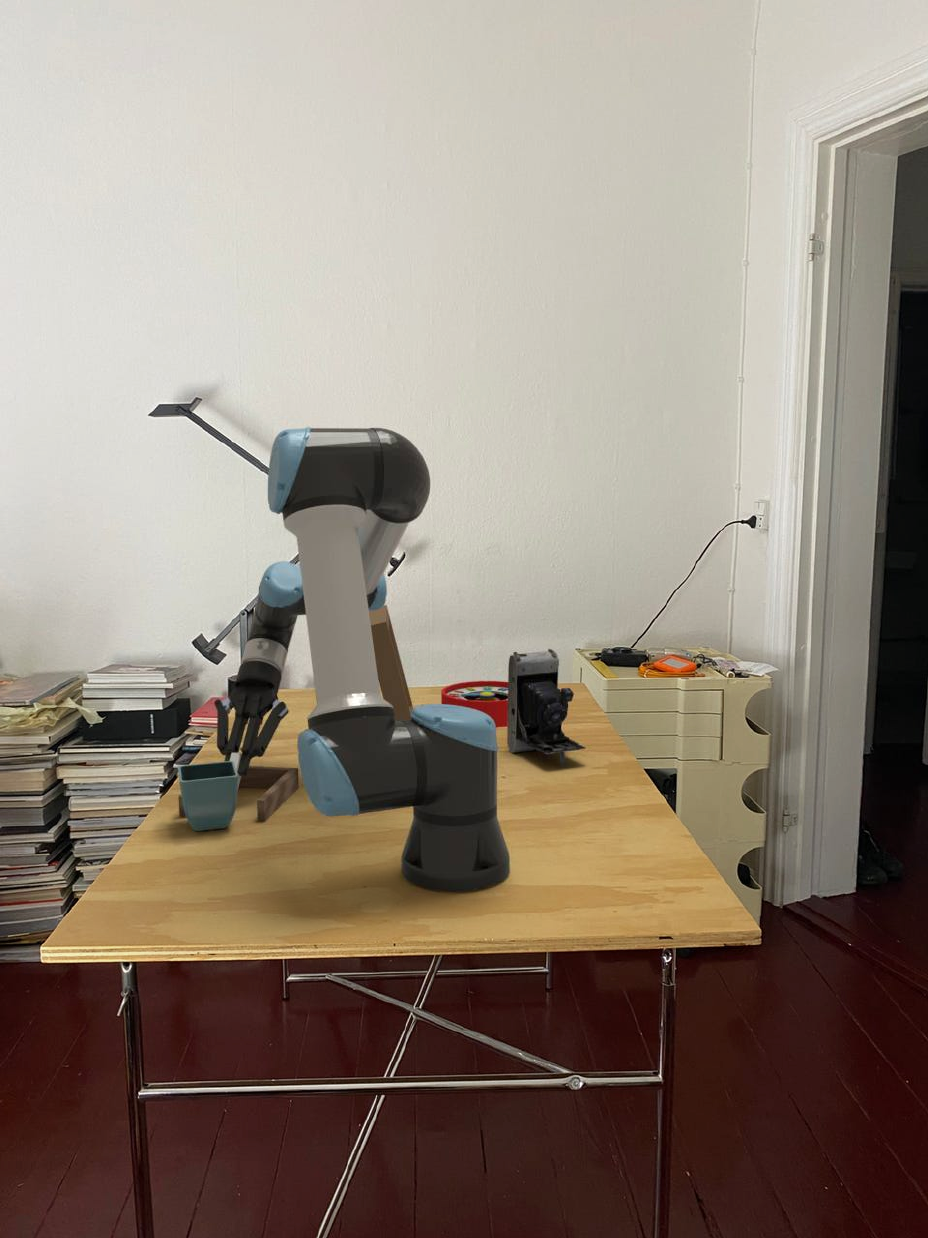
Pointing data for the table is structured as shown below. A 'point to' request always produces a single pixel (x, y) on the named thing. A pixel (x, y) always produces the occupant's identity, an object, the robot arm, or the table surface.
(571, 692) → the vintage camera
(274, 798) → the wooden tray rim
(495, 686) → the toy clock
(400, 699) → the photo frame
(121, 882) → the table surface
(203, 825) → the flower pot
